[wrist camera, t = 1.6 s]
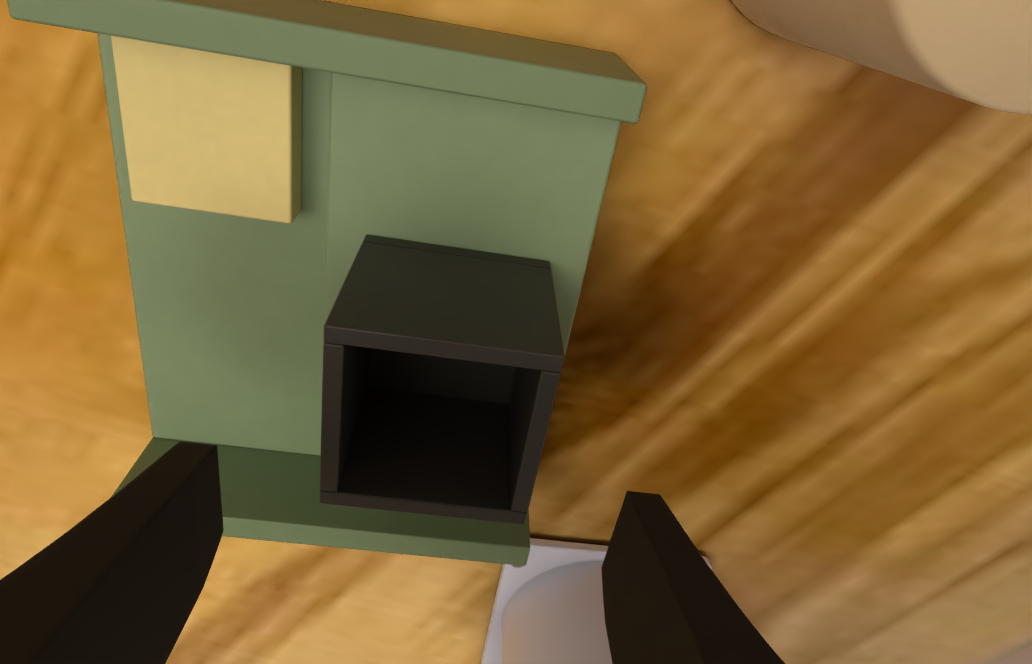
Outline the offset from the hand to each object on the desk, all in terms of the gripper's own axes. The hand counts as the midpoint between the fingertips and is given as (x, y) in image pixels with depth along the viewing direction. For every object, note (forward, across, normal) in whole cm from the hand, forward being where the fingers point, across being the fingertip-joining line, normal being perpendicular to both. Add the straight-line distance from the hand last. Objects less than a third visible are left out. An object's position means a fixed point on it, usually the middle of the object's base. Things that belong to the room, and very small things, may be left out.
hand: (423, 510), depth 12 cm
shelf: (+9, +3, 0) cm, 10 cm away
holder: (+7, 0, 0) cm, 7 cm away
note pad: (+8, +6, -4) cm, 11 cm away
